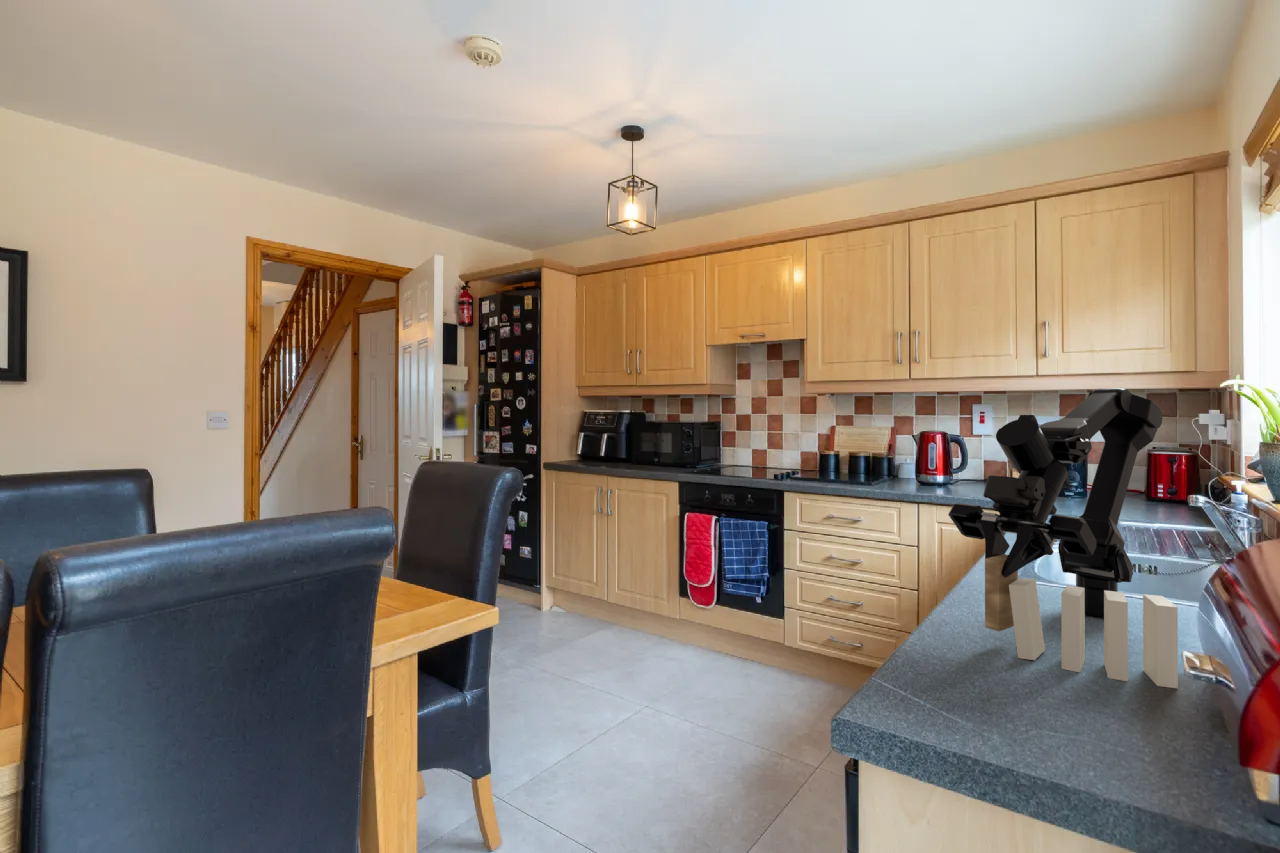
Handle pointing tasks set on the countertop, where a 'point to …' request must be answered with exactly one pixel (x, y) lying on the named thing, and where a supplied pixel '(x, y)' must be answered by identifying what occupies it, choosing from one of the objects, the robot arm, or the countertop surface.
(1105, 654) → the domino
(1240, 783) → the countertop surface
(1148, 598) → the domino
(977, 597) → the countertop surface
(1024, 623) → the domino
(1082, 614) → the domino
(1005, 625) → the domino
